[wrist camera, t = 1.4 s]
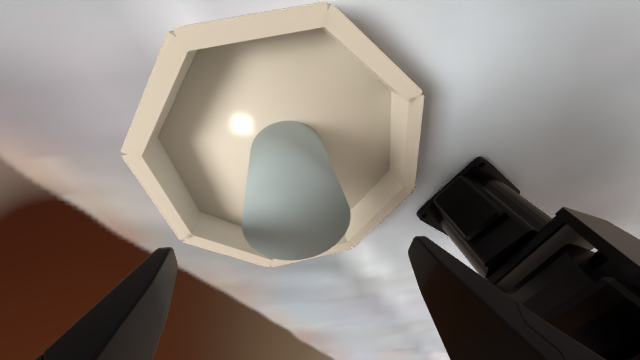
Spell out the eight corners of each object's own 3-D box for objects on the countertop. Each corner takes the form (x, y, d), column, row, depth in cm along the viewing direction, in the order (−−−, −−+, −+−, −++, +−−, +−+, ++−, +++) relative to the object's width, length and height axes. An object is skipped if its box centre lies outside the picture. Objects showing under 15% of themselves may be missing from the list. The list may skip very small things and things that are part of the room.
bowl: (444, 120, 16) (469, 136, 14) (313, 256, 22) (317, 282, 20) (231, -80, 10) (221, -104, 8) (118, 188, 15) (94, 216, 13)
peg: (338, 145, 15) (371, 208, 11) (298, 195, 17) (310, 270, 12) (276, 105, 13) (280, 159, 9) (236, 166, 15) (221, 242, 10)
